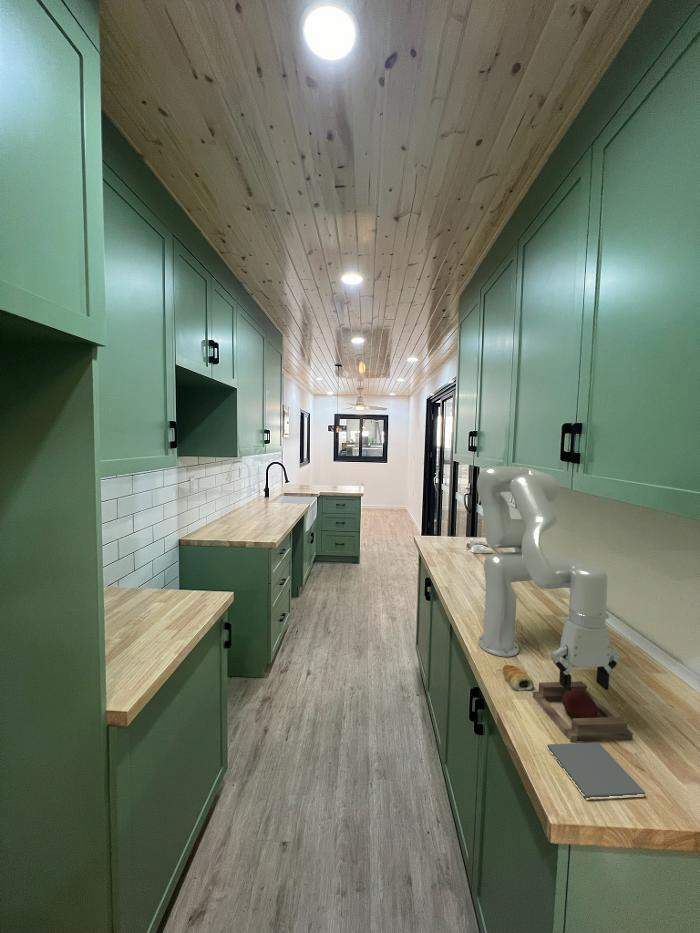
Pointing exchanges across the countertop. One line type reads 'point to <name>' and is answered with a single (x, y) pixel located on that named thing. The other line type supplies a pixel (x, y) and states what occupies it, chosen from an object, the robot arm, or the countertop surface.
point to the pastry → (517, 678)
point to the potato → (579, 704)
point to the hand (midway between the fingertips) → (583, 687)
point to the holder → (581, 727)
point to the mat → (594, 770)
